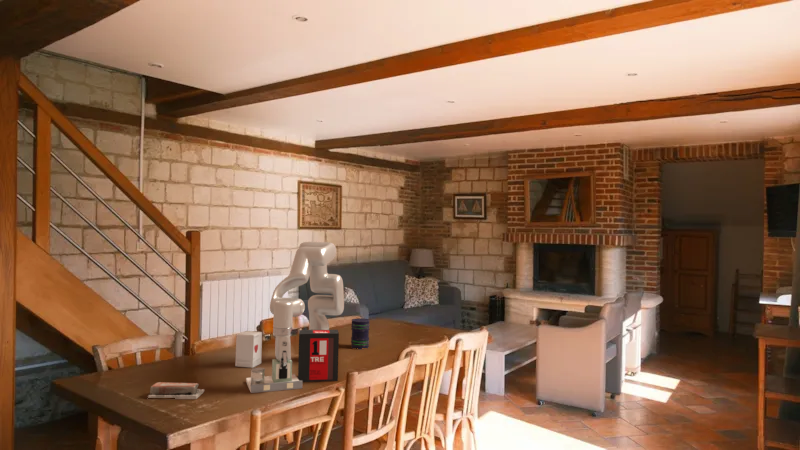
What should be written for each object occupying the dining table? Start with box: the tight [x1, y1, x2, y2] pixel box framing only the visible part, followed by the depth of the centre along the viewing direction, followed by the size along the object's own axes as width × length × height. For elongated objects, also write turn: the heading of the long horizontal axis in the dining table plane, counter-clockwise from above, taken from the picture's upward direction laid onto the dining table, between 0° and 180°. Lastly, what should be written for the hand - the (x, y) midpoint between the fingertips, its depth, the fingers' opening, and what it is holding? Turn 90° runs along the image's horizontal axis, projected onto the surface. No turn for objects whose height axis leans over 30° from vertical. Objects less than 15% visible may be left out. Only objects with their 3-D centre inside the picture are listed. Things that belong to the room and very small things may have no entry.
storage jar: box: [350, 317, 370, 350], centre depth 290 cm, size 10×10×15 cm
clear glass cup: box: [250, 367, 266, 385], centre depth 210 cm, size 5×5×6 cm
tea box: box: [271, 358, 293, 383], centre depth 215 cm, size 7×6×8 cm
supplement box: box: [234, 330, 263, 369], centre depth 247 cm, size 9×9×15 cm
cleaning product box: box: [297, 329, 340, 383], centre depth 227 cm, size 16×9×20 cm, turn 100°
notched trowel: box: [147, 381, 205, 400], centre depth 201 cm, size 18×5×10 cm
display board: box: [245, 373, 304, 394], centre depth 217 cm, size 20×17×3 cm
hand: (281, 375), depth 215 cm, fingers closed on tea box, 5 cm apart
